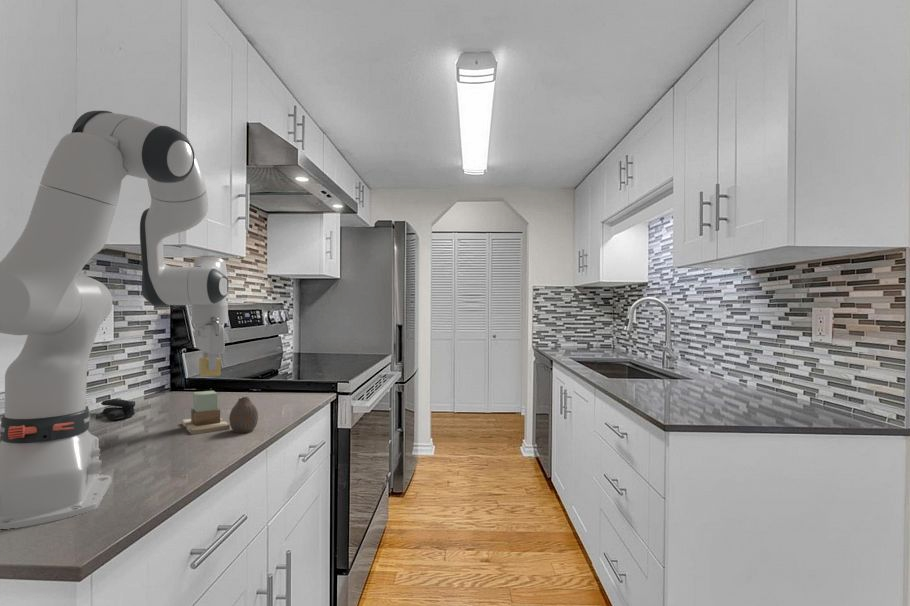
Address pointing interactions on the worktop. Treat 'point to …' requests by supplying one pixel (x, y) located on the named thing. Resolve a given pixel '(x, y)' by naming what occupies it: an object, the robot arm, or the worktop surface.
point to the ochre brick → (205, 371)
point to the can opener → (119, 408)
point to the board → (205, 426)
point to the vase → (243, 416)
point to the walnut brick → (205, 417)
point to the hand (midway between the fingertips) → (209, 368)
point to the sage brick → (204, 401)
